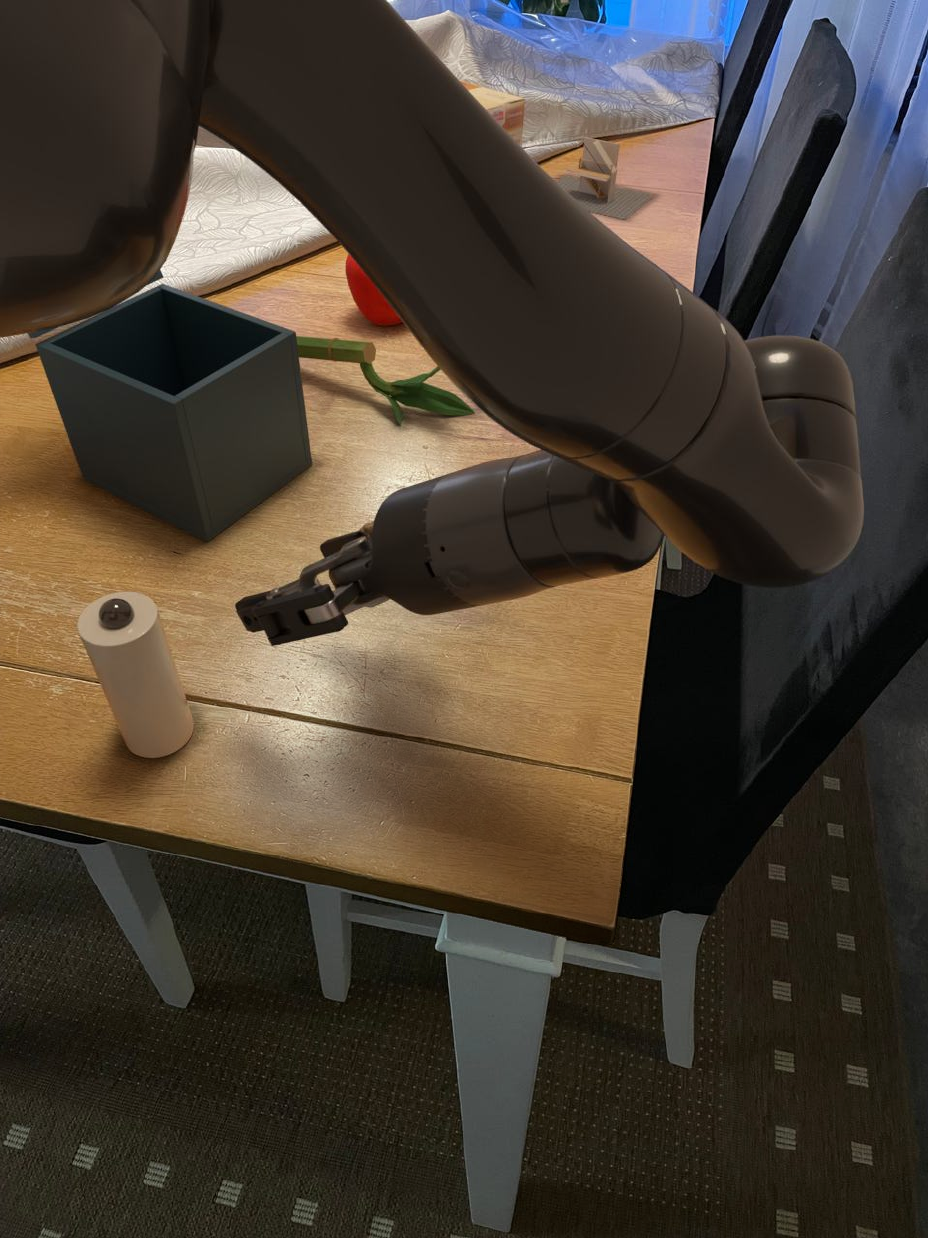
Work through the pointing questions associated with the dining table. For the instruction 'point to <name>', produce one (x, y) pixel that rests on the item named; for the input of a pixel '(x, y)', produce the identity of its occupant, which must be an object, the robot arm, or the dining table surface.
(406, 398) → the decorative plant
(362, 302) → the apple
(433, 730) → the dining table surface
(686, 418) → the robot arm
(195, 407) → the chest
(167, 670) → the pepper mill
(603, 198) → the architectural model
